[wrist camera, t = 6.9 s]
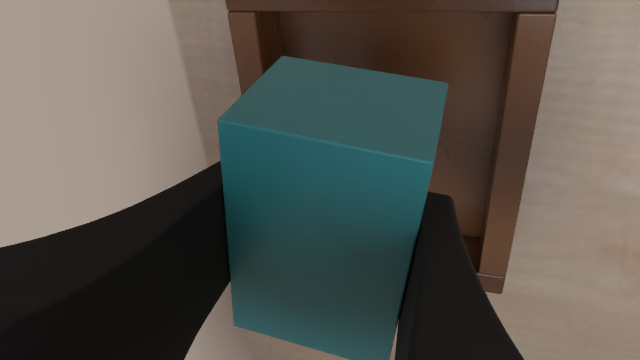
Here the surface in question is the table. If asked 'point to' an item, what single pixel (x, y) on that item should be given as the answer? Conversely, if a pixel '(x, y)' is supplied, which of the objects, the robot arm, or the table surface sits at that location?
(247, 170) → the teal rectangular block
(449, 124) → the holder
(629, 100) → the table surface
